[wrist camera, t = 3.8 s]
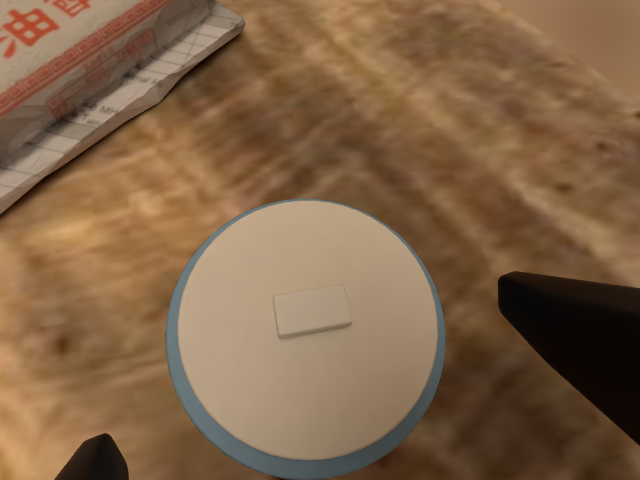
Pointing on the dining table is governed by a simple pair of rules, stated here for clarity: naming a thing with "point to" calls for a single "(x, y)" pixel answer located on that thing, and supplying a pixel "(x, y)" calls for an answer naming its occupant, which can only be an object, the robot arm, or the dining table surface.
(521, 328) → the robot arm
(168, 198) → the dining table surface
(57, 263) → the dining table surface
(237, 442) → the tissue tub
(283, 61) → the dining table surface
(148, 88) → the packaged product
